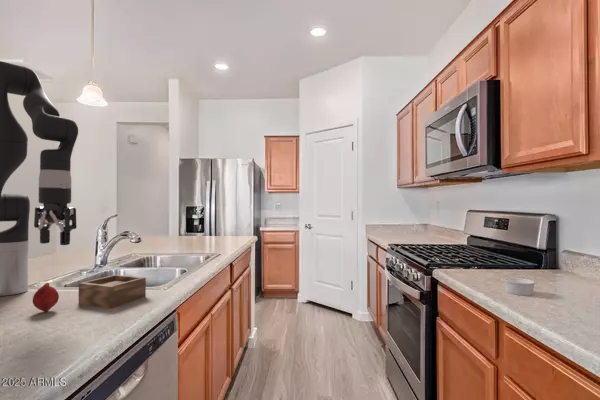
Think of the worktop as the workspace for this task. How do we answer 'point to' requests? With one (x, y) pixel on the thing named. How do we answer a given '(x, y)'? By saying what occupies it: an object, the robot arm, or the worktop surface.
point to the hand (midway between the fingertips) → (54, 244)
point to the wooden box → (112, 291)
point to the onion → (45, 297)
